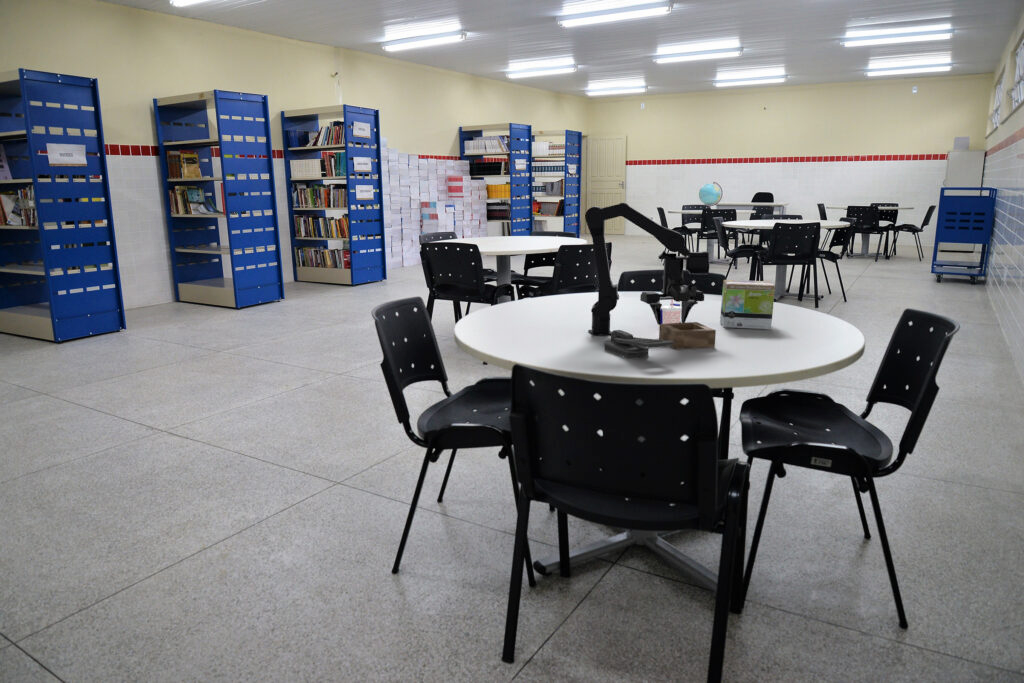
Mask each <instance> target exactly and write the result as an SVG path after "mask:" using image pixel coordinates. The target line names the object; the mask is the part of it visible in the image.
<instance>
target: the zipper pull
mask: <svg viewBox="0 0 1024 683" xmlns="http://www.w3.org/2000/svg"><path fill="white" fill-rule="evenodd" d="M611 332H612V334H611V335H610V339H608V340H607V339H606V340H604V348H603V349H604V351H605V350H606V352H608V351H609V352H608V353H611V352H612V353H611V354H614V353H615V355H617V354H618V355H617V356H620V355H621V356H620V357H622V356H624V357H623V358H625V357H626V359H635V358H638V359H645V358H647V357H649V348H660V347H671V346H670V345H673V344H674V342H673V341H667V340H659V339H656V338H655V339H654V338H645V337H635V336H634V334H631V333H629V332H627V331H624V330H621V329H615V330H612V331H611ZM646 356H647V357H646ZM644 357H645V358H644Z"/></svg>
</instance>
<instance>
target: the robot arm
mask: <svg viewBox="0 0 1024 683" xmlns="http://www.w3.org/2000/svg"><path fill="white" fill-rule="evenodd" d="M618 217H622V218H624V219H626V220H628V221H629V222H631V223H632V224H634V225H635V226H637V227H638V228H640V229H642V230H643V231H645V232H646V233H648V234H650V235H651V236H653V237H654V238H655V239H656V240H657V241H658V242H659V243H660V244H662V245H663V247H665V248H666V249H667V250H668V251H669V252H670V253H667V252H666V251H665V250H663V251H662V252H661V253H660V254H659V255H658V256H657V257H658V259H659V260H663V261H664V263H663V275H661V280H663V282H662V283H663V285H662V289H661V291H660V293H658V292H656V291H642V292H641V294H640V296H639V297H640V298H639V300H640V301H641V302H643V303H645V304H648V305H649V307H650V308H651V311H652V313H653V315H654V318H655V321H656V324H657V325H658V326H660V322H661V308H662V306H663V304H662V303H661V302H660V301H666V300H671V299H673V302H676V303H679V302H681V303H680V307H682V311H681V314H680V321H681V323H686V320H687V318H688V316H689V313H690V312H691V310H692V308H693V307H695V305H698V304H699V302H705V294H704V292H703V291H700V290H699V289H697V285H696V284H694V283H693V284H691V283H690V284H686V278H685V277H684V271H687V272H688V274H689V275H709V272H710V257H709V256H710V254H709V253H710V252H708V251H691V250H690V248H688V247H687V246H686V240H685V237H684V236H683V234H682V233H680V232H679V231H676V230H673V229H671V228H668V227H665V226H663V225H661V224H659V223H657V222H655V221H654V220H653V219H651V218H649V217H648V216H647V215H644V214H643V213H641V212H639V211H638V210H636V209H634V208H633V207H631V206H630V205H629V204H628V203H627V202H620V203H617V204H613V205H609V206H605V207H600V206H599V205H598V206H596V205H595V206H591V207H590V208H589V209H587V211H586V212H585V215H584V218H585V219H584V220H585V222H586V225H587V227H588V228H587V229H588V232H589V233H590V235H591V236H590V237H591V238H592V246H593V251H594V252H593V253H594V258H595V264H596V271H597V272H596V273H597V278H598V279H597V280H598V292H597V295H598V296H597V297H598V298H597V301H596V302H595V303H594V304H592V307H591V309H590V311H591V329H588V330H587V331H588V333H590V334H591V335H593V336H607V335H608V336H611V334H612V331H611V313H610V312H612V311H613V310H614V309H615V308H616V307H617V304H618V301H619V300H620V295H619V292H618V286H619V285H618V284H614V283H613V281H612V278H611V272H610V265H609V260H608V259H609V258H608V252H607V245H606V238H605V237H606V236H605V229H606V221H607V220H611V219H615V218H618ZM677 253H679V254H680V255H681V256H677ZM684 260H685V261H684ZM684 262H685V270H684Z"/></svg>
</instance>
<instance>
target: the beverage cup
mask: <svg viewBox="0 0 1024 683" xmlns="http://www.w3.org/2000/svg"><path fill="white" fill-rule="evenodd" d="M673 303H674V299H671V302H670V304H671V306H670V305H662V306H661V308H662V310H663V324H667V323H681V311H682V307H681V305H680V306H673Z"/></svg>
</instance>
